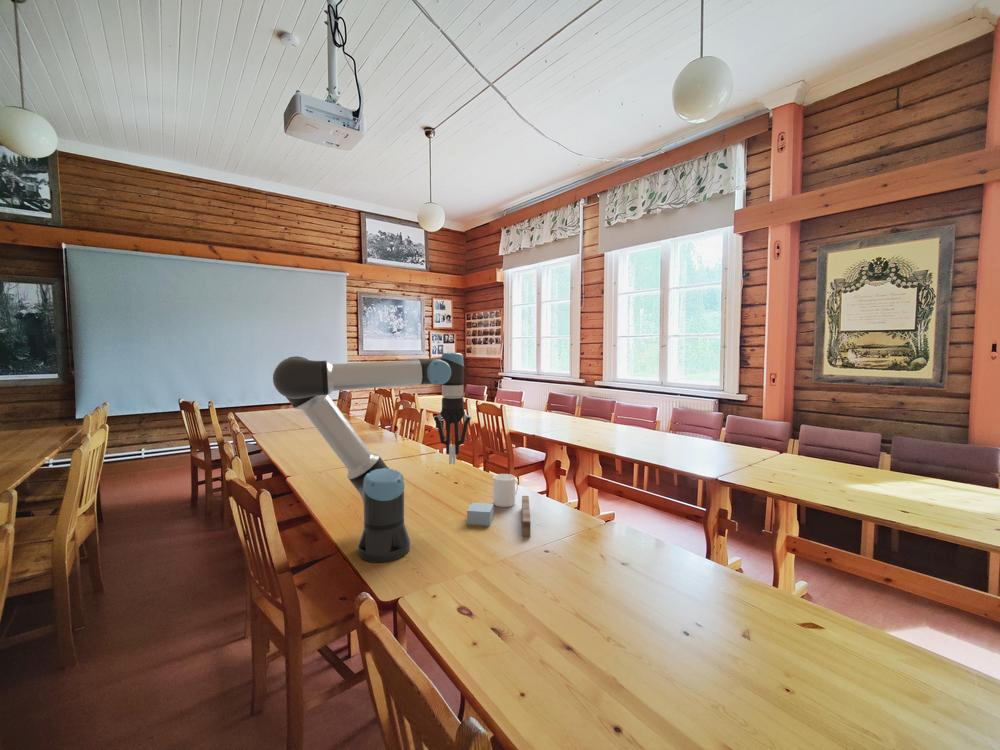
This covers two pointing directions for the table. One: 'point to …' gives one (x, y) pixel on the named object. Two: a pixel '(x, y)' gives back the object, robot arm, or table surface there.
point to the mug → (504, 490)
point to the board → (525, 516)
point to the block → (480, 514)
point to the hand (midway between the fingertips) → (452, 463)
